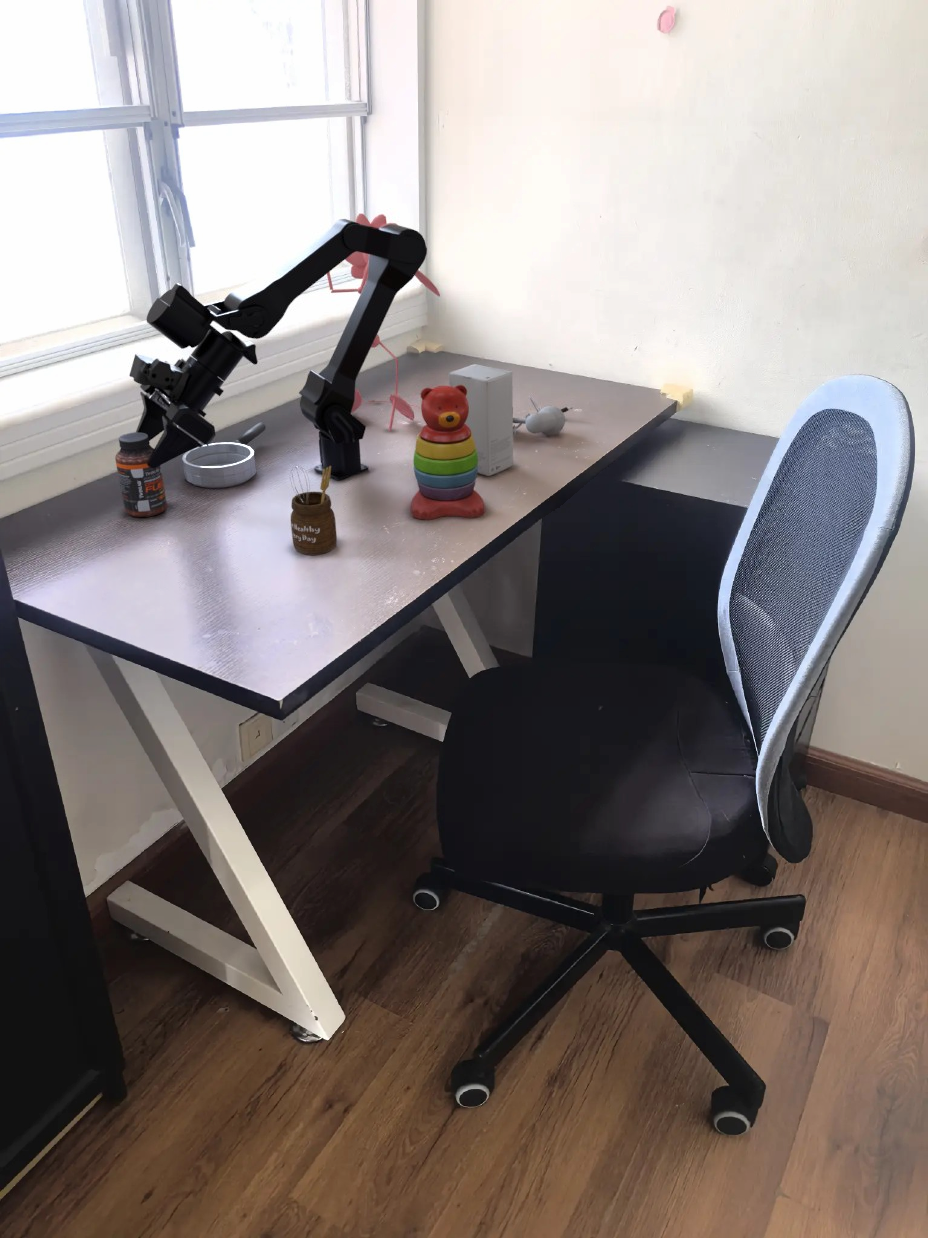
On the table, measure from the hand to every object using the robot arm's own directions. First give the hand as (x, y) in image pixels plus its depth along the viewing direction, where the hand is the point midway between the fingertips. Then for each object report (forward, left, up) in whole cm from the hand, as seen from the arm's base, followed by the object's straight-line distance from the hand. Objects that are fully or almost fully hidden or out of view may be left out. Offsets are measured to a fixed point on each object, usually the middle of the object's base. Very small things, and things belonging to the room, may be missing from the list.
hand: (141, 456), depth 132 cm
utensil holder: (-27, -9, -8) cm, 30 cm away
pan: (+4, -14, -8) cm, 17 cm away
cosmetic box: (-23, -46, -8) cm, 52 cm away
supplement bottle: (0, +1, -8) cm, 9 cm away
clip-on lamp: (-18, -65, -8) cm, 68 cm away
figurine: (+7, -52, -8) cm, 53 cm away
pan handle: (+9, -24, -6) cm, 26 cm away
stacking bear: (-30, -31, -8) cm, 44 cm away
